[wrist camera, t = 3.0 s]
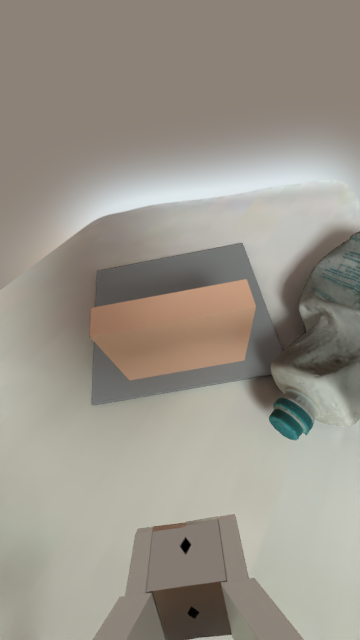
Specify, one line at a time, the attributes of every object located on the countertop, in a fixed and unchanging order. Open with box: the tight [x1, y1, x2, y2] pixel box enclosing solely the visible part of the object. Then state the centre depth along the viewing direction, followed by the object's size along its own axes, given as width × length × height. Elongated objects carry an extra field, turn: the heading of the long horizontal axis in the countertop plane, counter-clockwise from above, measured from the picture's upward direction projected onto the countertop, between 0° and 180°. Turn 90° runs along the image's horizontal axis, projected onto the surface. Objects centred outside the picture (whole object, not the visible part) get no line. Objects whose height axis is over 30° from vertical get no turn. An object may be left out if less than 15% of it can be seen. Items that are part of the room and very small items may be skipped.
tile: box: [90, 279, 256, 380], centre depth 24 cm, size 12×3×10 cm, turn 98°
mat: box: [91, 243, 282, 405], centre depth 31 cm, size 20×18×1 cm
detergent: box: [269, 232, 360, 440], centre depth 25 cm, size 13×7×25 cm
